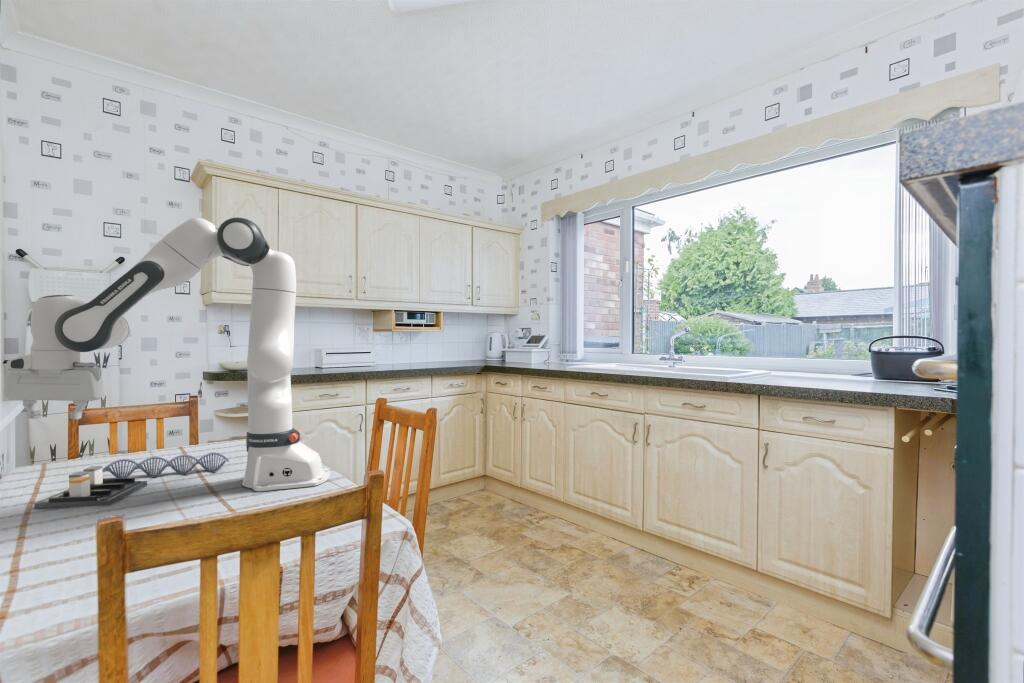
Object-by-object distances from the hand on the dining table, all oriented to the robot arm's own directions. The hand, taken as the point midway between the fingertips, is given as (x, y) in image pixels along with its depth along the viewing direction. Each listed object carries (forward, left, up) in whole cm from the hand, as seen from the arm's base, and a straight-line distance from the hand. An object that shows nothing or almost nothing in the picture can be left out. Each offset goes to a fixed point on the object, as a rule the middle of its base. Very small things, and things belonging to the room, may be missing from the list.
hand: (55, 418), depth 118 cm
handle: (-2, -9, -19) cm, 21 cm away
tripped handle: (-6, +1, -19) cm, 20 cm away
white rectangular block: (-2, -4, -19) cm, 20 cm away
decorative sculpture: (-14, -21, -21) cm, 33 cm away
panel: (-6, -4, -21) cm, 22 cm away
